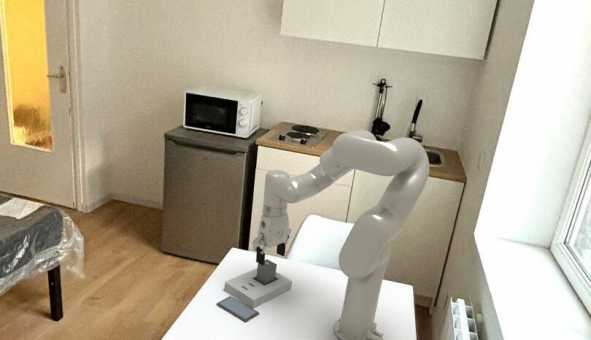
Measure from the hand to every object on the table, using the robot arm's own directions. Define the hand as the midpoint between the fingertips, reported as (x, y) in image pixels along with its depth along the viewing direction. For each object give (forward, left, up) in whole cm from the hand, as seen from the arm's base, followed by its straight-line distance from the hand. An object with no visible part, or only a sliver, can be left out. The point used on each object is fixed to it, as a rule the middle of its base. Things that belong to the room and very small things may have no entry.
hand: (270, 259), depth 156 cm
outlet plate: (+1, +3, -11) cm, 11 cm away
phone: (-3, +16, -11) cm, 20 cm away
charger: (+1, 0, -10) cm, 10 cm away
